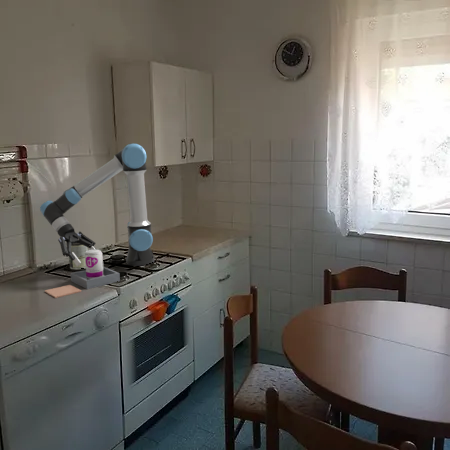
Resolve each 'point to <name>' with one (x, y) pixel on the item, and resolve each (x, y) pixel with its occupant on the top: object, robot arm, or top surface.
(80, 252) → the coffee can
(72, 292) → the terracotta tile
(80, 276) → the parts tub
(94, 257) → the supplement can
